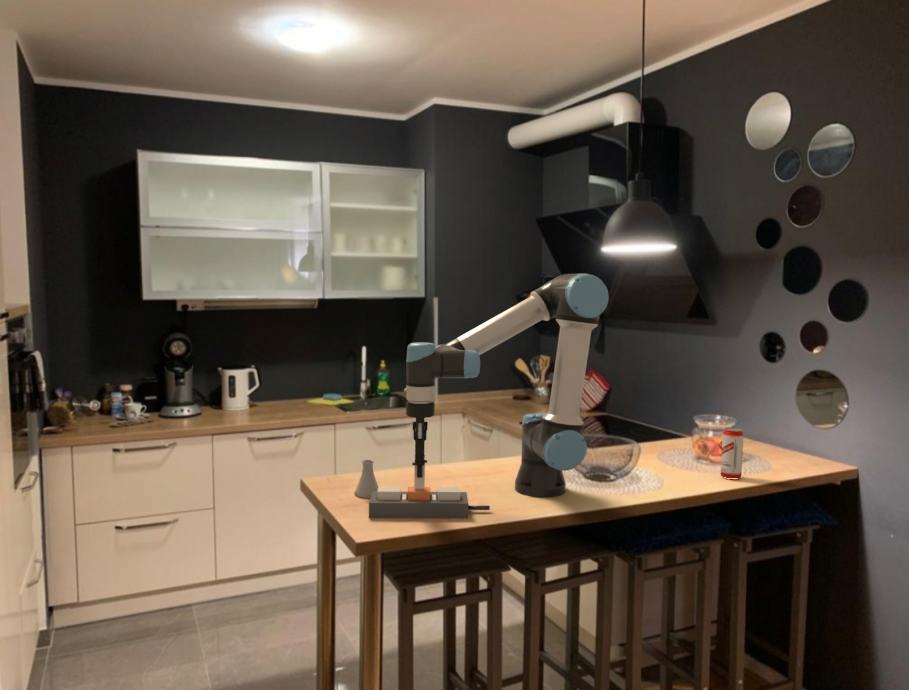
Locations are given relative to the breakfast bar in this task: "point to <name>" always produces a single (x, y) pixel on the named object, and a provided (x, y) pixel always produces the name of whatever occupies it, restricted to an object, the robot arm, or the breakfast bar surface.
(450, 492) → the switch
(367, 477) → the flask
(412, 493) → the switch
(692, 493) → the breakfast bar surface
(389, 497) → the switch
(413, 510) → the power strip
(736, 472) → the beer can
